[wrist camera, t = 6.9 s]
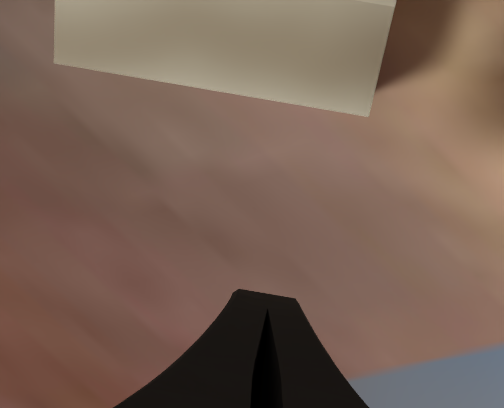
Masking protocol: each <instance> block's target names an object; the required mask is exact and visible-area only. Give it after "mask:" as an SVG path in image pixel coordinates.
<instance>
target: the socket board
mask: <svg viewBox="0 0 504 408" xmlns="http://www.w3.org/2000/svg"><path fill="white" fill-rule="evenodd" d="M395 4H396V0H55V26H54V63H55V64H61V65H67V66H73V67H79V68H85V69H91V70H96V71H102V72H108V73H114V74H120V75H126V76H132V77H137V78H143V79H149V80H155V81H161V82H167V83H173V84H179V85H184V86H190V87H196V88H202V89H208V90H214V91H220V92H225V93H231V94H237V95H243V96H249V97H255V98H261V99H266V100H272V101H278V102H284V103H290V104H296V105H302V106H307V107H313V108H319V109H325V110H331V111H337V112H343V113H348V114H354V115H360V116H366V117H369V113H370V109H371V105H372V101H373V96H374V92H375V88H376V84H377V80H378V76H379V71H380V67H381V63H382V59H383V55H384V50H385V46H386V42H387V38H388V34H389V29H390V25H391V21H392V17H393V13H394V9H395Z"/></svg>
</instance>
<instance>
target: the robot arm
mask: <svg viewBox="0 0 504 408" xmlns="http://www.w3.org/2000/svg"><path fill="white" fill-rule="evenodd" d="M113 408H369V407H368V406H367V405H366V404H365V403H364V401H363V400H362V399H361V398H360V397H359V395H358V394H357V393H356V392H355V391H354V389H353V388H352V387H351V386H350V384H349V383H348V381H347V380H346V379H345V378H344V376H343V375H342V374H341V372H340V371H339V369H338V368H337V366H336V365H335V364H334V362H333V361H332V359H331V357H330V356H329V354H328V353H327V351H326V350H325V348H324V347H323V345H322V344H321V342H320V340H319V339H318V337H317V336H316V334H315V332H314V330H313V329H312V327H311V325H310V323H309V322H308V320H307V318H306V316H305V314H304V313H303V311H302V309H301V307H300V305H299V303H298V302H297V300H296V299H295V298H289V297H283V296H278V295H272V294H266V293H260V292H254V291H248V290H243V289H238V290H236V291H235V292H233V294H232V296H231V298H230V300H229V301H228V303H227V305H226V306H225V308H224V309H223V310H222V312H221V313H220V314H219V316H218V317H217V318H216V319H215V321H214V322H213V323H212V324H211V325H210V326H209V328H208V329H207V330H206V331H205V332H204V333H203V335H202V336H201V337H200V338H199V339H198V340H197V341H196V342H195V343H194V344H193V345H192V346H191V347H190V348H189V349H188V350H187V351H186V352H185V353H184V354H183V355H182V356H181V357H180V358H178V359H177V360H176V361H175V362H174V363H173V364H172V365H171V366H169V367H168V368H167V369H166V370H165V371H163V372H162V373H161V374H160V375H158V376H157V377H156V378H155V379H153V380H152V381H151V382H150V383H148V384H147V385H146V386H144V387H143V388H141V389H140V390H138V391H137V392H136V393H134V394H133V395H131V396H130V397H128V398H127V399H125V400H124V401H123V402H121V403H120V404H118V405H117V406H115V407H113Z"/></svg>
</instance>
